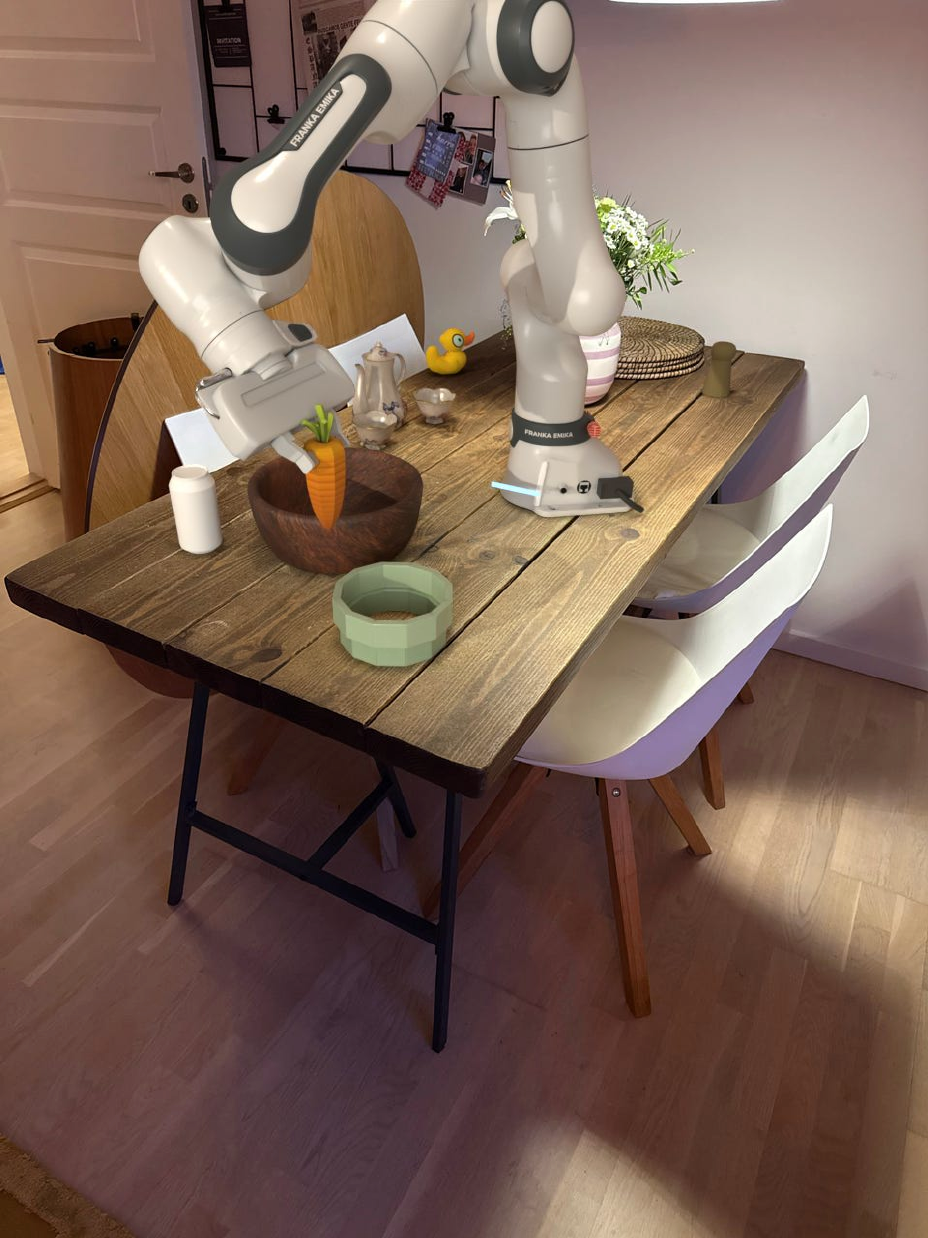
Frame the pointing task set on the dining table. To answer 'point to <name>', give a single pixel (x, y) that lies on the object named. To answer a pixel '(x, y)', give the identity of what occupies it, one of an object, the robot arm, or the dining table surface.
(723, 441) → the dining table surface
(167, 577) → the dining table surface
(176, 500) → the beverage can
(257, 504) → the wooden bowl
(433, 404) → the chinaware
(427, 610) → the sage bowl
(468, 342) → the duckling
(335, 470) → the carrot
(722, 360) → the olive brown knobbed cylinder
